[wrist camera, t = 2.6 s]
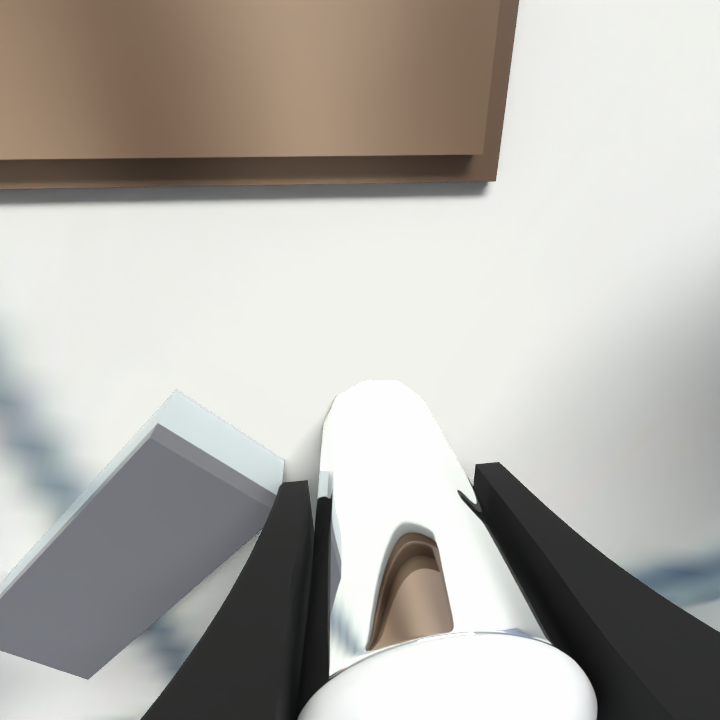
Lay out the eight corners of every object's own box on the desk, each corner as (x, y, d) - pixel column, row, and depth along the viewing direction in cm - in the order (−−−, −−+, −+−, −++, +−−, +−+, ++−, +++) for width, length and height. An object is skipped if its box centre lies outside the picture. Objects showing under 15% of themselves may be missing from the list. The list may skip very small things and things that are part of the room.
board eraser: (179, 382, 13) (149, 437, 10) (285, 452, 14) (279, 513, 12) (16, 563, 16) (-37, 638, 13) (118, 606, 17) (88, 679, 15)
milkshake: (331, 507, 15) (357, 1035, 6) (283, 380, 13) (215, 961, 4) (458, 476, 15) (667, 967, 6) (436, 340, 12) (735, 845, 4)
